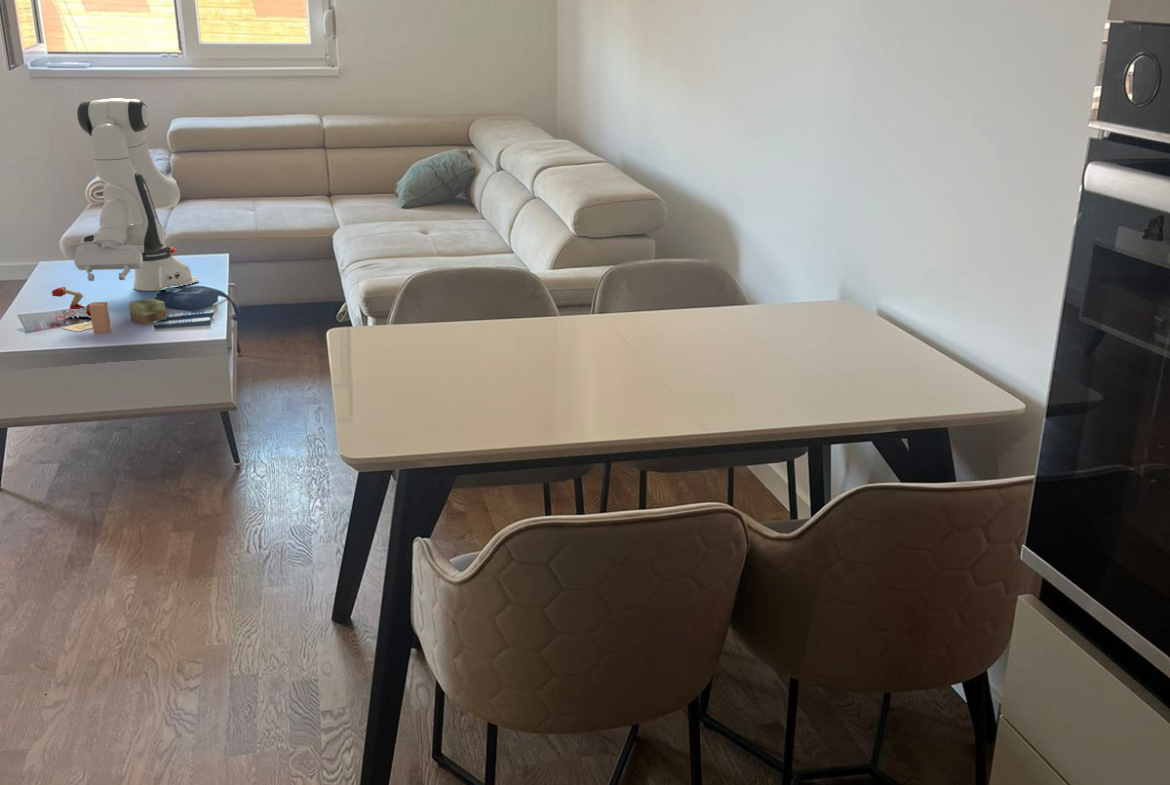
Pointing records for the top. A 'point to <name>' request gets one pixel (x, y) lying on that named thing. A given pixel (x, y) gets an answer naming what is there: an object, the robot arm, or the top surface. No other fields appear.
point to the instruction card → (79, 326)
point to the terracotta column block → (100, 317)
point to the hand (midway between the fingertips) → (106, 279)
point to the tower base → (147, 318)
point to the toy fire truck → (76, 299)
